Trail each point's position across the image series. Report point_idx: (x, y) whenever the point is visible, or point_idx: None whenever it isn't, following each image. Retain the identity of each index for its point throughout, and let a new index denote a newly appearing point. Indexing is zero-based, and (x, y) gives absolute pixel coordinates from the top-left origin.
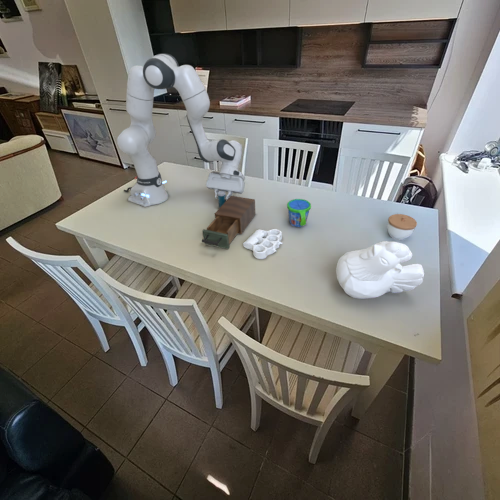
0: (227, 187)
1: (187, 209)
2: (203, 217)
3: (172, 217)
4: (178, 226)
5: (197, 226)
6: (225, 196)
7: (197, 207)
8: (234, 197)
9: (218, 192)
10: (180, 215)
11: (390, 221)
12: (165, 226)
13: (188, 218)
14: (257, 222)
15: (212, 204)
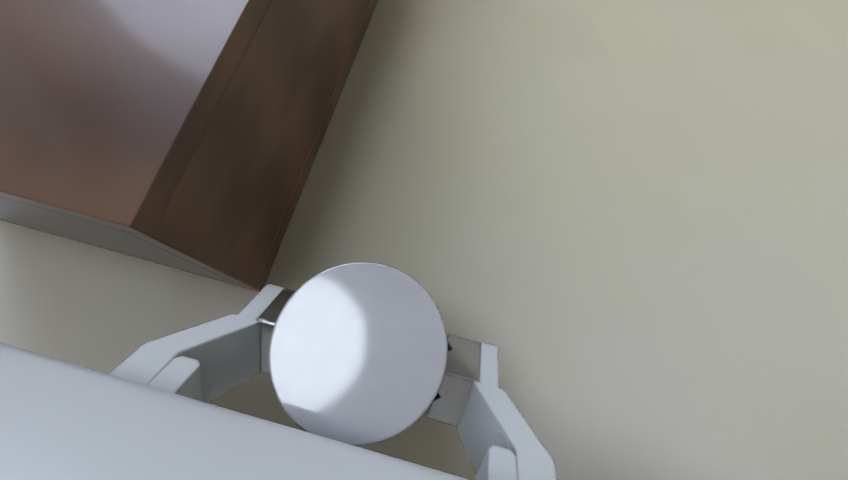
0: (129, 454)
1: (786, 295)
2: (548, 153)
3: (843, 144)
4: (707, 26)
5: (551, 29)
6: None
7: (696, 346)
8: (59, 151)
9: (429, 352)
10: (790, 179)
11: None
12: (811, 25)
13: (685, 134)
14: None
15: (539, 434)
